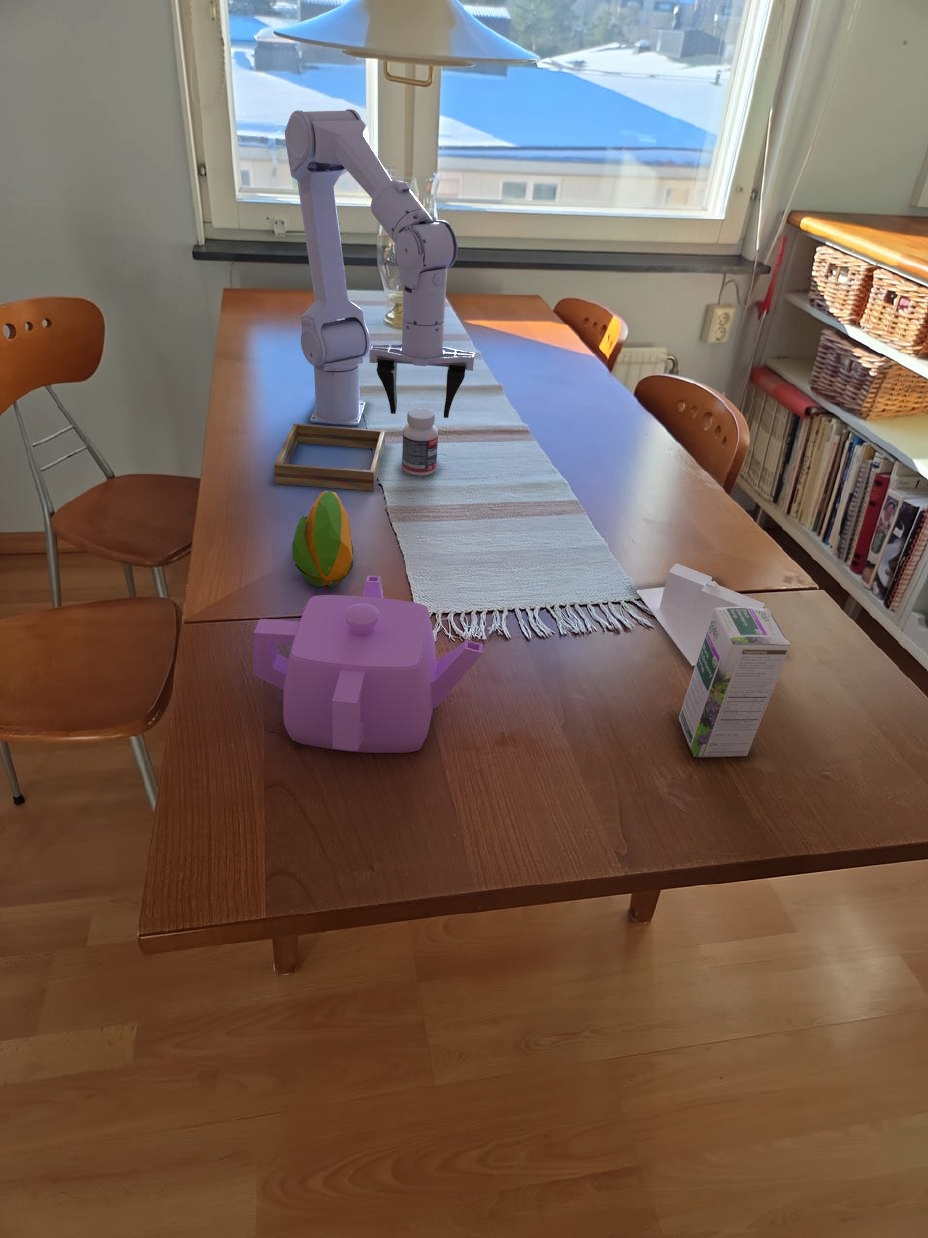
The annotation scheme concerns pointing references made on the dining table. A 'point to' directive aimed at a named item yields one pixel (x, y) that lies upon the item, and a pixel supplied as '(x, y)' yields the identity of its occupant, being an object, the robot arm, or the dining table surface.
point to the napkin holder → (690, 606)
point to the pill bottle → (420, 442)
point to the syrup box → (732, 681)
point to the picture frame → (327, 474)
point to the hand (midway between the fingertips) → (420, 412)
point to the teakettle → (359, 671)
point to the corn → (324, 542)
